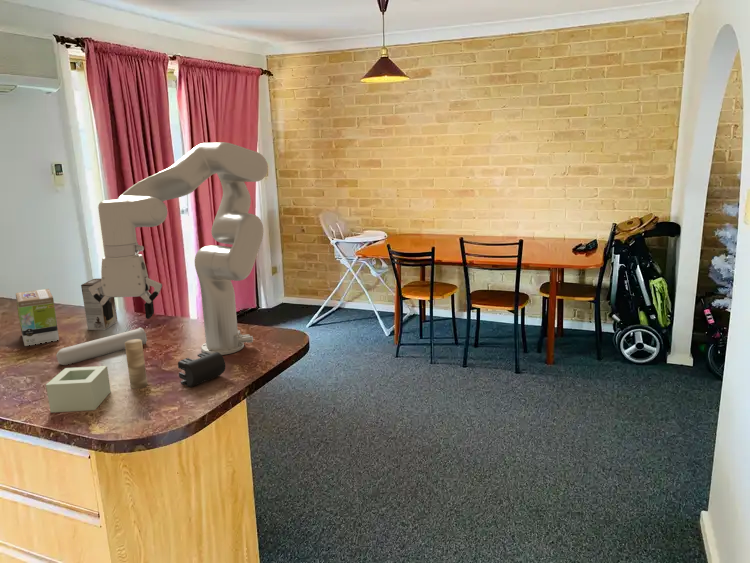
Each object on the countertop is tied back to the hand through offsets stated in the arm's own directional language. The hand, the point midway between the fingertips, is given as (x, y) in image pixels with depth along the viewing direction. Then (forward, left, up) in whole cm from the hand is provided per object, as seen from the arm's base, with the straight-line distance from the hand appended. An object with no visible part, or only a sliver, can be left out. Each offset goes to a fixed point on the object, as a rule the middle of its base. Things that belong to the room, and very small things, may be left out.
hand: (129, 318), depth 140 cm
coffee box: (+29, -54, -19) cm, 64 cm away
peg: (0, 0, -18) cm, 18 cm away
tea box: (+45, -44, -19) cm, 66 cm away
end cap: (-16, -1, -19) cm, 25 cm away
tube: (+18, -26, -19) cm, 37 cm away
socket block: (+11, +8, -18) cm, 23 cm away
